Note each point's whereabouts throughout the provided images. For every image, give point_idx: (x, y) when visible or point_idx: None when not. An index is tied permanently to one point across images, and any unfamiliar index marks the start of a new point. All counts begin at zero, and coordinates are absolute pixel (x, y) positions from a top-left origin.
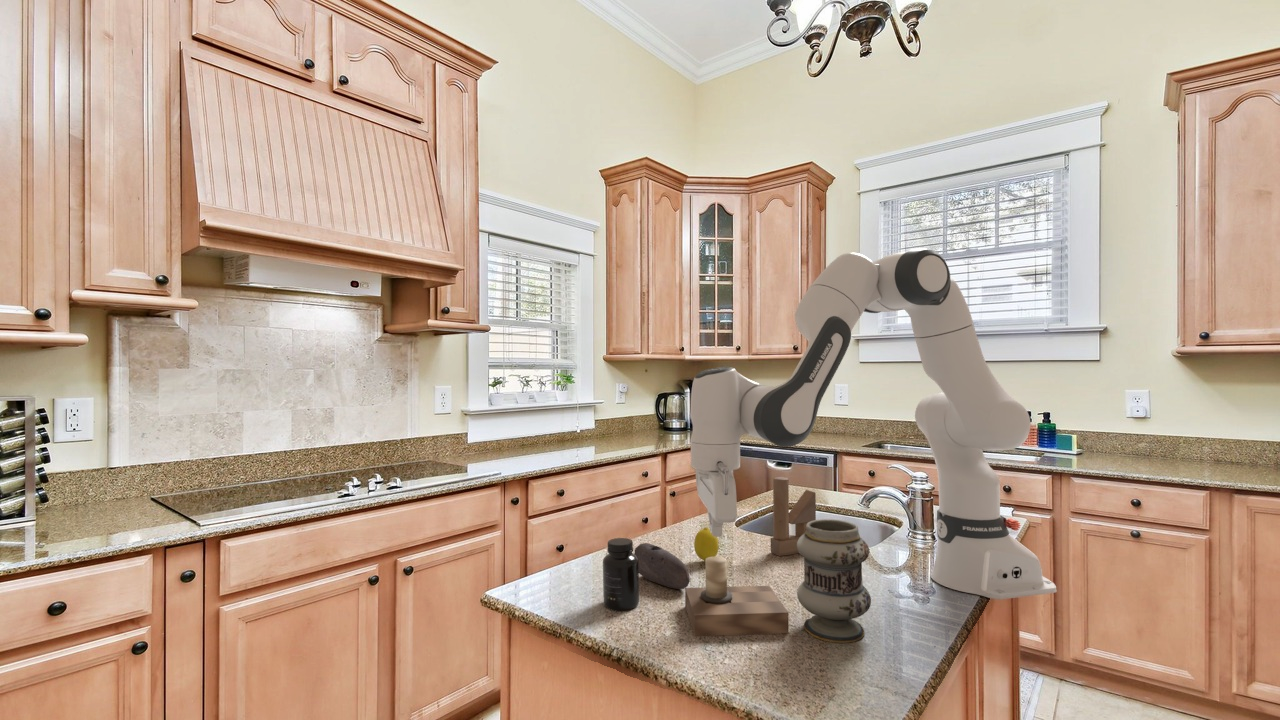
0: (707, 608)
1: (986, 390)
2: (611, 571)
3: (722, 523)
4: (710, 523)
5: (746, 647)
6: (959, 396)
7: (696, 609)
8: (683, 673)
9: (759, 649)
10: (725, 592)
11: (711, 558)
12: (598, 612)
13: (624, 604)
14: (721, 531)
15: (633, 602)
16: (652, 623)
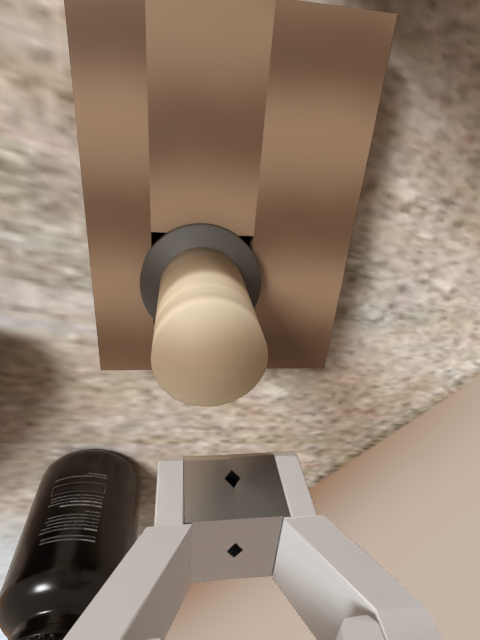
0: (286, 326)
1: None
2: None
3: (358, 551)
4: (192, 581)
5: (402, 216)
6: None
7: (285, 357)
8: (455, 376)
9: (424, 182)
10: (233, 264)
11: (185, 378)
12: (143, 516)
13: (139, 487)
14: (303, 480)
15: (126, 471)
16: (217, 419)
